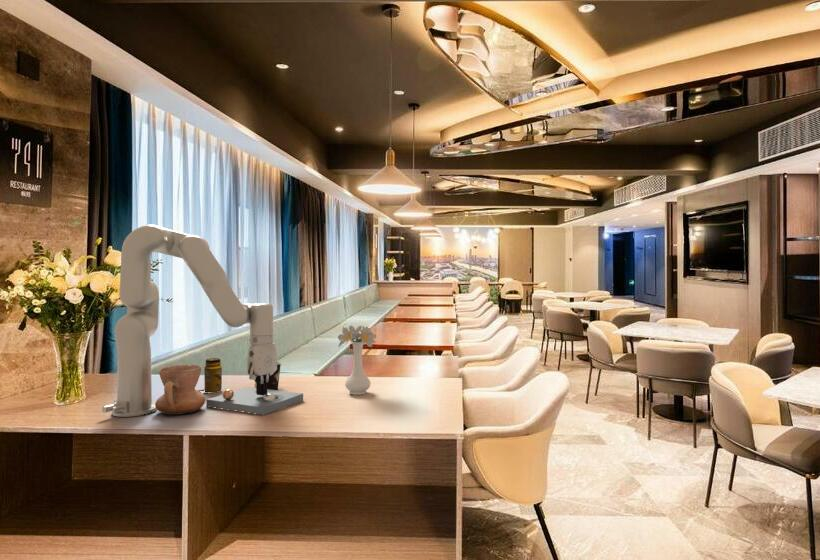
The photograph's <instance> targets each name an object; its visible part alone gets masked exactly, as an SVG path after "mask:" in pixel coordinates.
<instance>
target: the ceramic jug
mask: <svg viewBox="0 0 820 560" xmlns="http://www.w3.org/2000/svg"><path fill="white" fill-rule="evenodd" d="M158 372H159V377H160V381H161V382H162V385H163V387H164V388H163V394H162V395H161V396H159V398H157V399H156V400H155V403H154V404H155V406H156V409H157V410H156V411H159V412H160V413H163V414H166V415H185V413H186V414H190V413H194V412H196V411H198V410H200V409H201V408H202V407H203V406H204V405H205V403H206V398H205V394H202V393H200V392H198V391H197V390H198V389H196V386H197V384H198V382H199V379H200V376H201V372H202V366H201V365H199V364H194V363H193V364H191V365H189V364H186V363H183V364H174V365H169V366H164V367H162V368H159V370H158ZM193 411H194V412H193Z"/></svg>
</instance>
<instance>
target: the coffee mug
mask: <svg viewBox="0 0 820 560" xmlns="http://www.w3.org/2000/svg"><path fill="white" fill-rule="evenodd" d="M281 365H282V363H281V362H280V361H277V370H276V371H275V372H274V374H272V375H271V376H270V377H269V381H268V382H267V389H270V390H278V391H279V384H280V383H279V382H280V373H281Z"/></svg>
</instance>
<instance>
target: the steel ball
mask: <svg viewBox="0 0 820 560" xmlns="http://www.w3.org/2000/svg"><path fill="white" fill-rule="evenodd" d="M275 399H276V398H275V396H274V395H273V394H266V395H265V396H264V398H263V400H275Z"/></svg>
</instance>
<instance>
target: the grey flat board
mask: <svg viewBox="0 0 820 560" xmlns="http://www.w3.org/2000/svg"><path fill="white" fill-rule="evenodd" d="M233 392H234V396H233V398H232V399H230V400H225V399H224V398H223V394H221V395H216V396H214V397H211V398H207V399H206V407H207V406H210V407H216V408H215V409H217V408H223V409H229V410H228V411H230V410H237V411H244V412H250V413H256V414H262V415H261V416H263V415H264V416H266V415H265V414H267V415H269V414H268V413H270V414H272V413H274V412H273V411H275V412H277V411H280V410H283V409H284V407H285V408H288V407H291V406H293V405H295V404H298V403H300V402H303V401H304V393H301V392H294V391H293V392H292V391H284V390H279V389H278V390H270V389H267V394H273V395H274V396H275V398H276V399H275V400H263V398H264V396H265V395H257V394H256V388H255V386H254V387H252V386H249V387H243V388H241V389H238V390H235V391H234V390H233ZM290 405H291V406H290ZM287 406H288V407H287ZM210 407H209V408H210ZM282 408H283V409H282ZM223 409H222V410H223ZM279 409H280V410H279ZM276 410H277V411H276ZM271 412H272V413H271ZM250 413H249V414H250ZM256 414H255V415H256Z"/></svg>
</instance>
